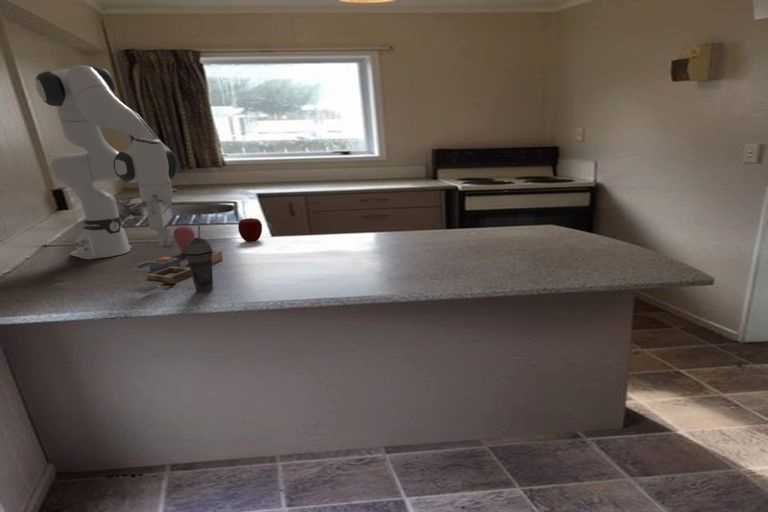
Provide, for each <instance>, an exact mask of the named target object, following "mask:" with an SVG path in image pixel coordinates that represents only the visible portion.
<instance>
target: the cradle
mask: <svg viewBox="0 0 768 512" xmlns="http://www.w3.org/2000/svg"><path fill="white" fill-rule="evenodd" d="M169 257H170V256H169ZM170 258H171V260H170V261H167V262H159V260H158V259H159V258H158V259H154V260H147V261H144V262H141V263H138V264H137V267H134V268H131V270H132V271H139V272H149V273H154V272H157V271H160V270H163V269H165V268H168V267H171V266H173V267H183V266H186V264H182V263H181V259H180V258H179V257H170ZM131 270H130V271H131Z"/></svg>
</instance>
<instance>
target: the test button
mask: <svg viewBox="0 0 768 512" xmlns="http://www.w3.org/2000/svg"><path fill="white" fill-rule="evenodd" d="M158 260H159V262H167V261H170V260H171V258H170V256H163V257H159V258H158Z"/></svg>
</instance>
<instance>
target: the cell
mask: <svg viewBox="0 0 768 512" xmlns="http://www.w3.org/2000/svg"><path fill="white" fill-rule="evenodd" d="M156 234H157V240H158V246H159V248H160V249H167V248H168V249H169V248H172V247H173V242H172V234H171V227H170V226H168V227H166V226H165V234H166V238H167V239H166V240H165V241H160V240H159V235H158V233H157V232H156Z"/></svg>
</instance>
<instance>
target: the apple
mask: <svg viewBox="0 0 768 512" xmlns="http://www.w3.org/2000/svg"><path fill="white" fill-rule="evenodd" d="M237 229H238V233H239V235H240V237H241V239H242V240H244V241H245V242H246V243H255V242H257V241H259V239H260V238H261V237H262V236H261V235H262V233H263V232H262V231H263V224H262V222H261V220H260V219H258V218H255V217H254V218H252V217H250V218H243V219H241V220H239V222H238V224H237Z"/></svg>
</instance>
